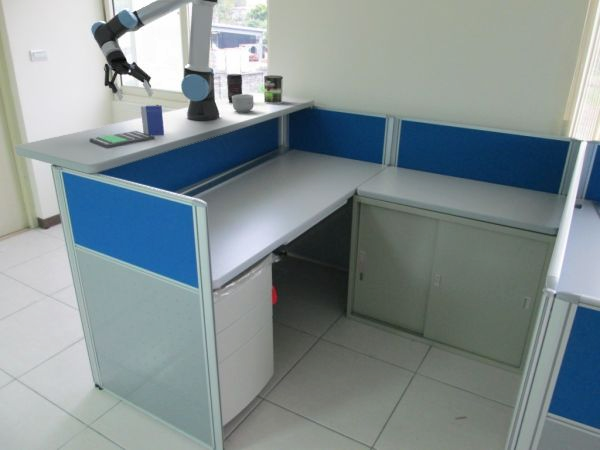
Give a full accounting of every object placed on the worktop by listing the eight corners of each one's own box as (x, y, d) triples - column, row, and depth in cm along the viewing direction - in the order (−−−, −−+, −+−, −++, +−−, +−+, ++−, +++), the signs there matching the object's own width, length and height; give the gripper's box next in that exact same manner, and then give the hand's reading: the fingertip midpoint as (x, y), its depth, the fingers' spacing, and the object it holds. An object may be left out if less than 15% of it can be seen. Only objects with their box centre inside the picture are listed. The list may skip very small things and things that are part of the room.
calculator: (136, 133, 210) (136, 130, 209) (154, 139, 201) (154, 136, 200) (89, 141, 196) (89, 137, 196) (107, 147, 187) (106, 144, 187)
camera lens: (244, 101, 283) (244, 74, 277) (239, 104, 276) (238, 75, 270) (231, 100, 285) (230, 73, 279) (225, 103, 278) (224, 74, 272)
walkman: (164, 133, 210) (161, 104, 205) (163, 135, 207) (160, 105, 202) (144, 133, 209) (141, 104, 204) (143, 135, 206) (140, 105, 202)
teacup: (252, 113, 252) (252, 97, 249) (230, 113, 252) (230, 97, 249) (255, 108, 264) (255, 93, 261) (234, 108, 265) (234, 92, 261)
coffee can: (275, 104, 276) (275, 78, 270) (260, 102, 281) (260, 76, 275) (286, 102, 284) (286, 76, 279) (271, 100, 289) (271, 74, 283)
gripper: (138, 59, 223) (160, 98, 220) (83, 63, 206) (105, 105, 203) (143, 48, 218) (165, 87, 214) (87, 50, 201) (110, 93, 198)
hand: (136, 96), depth 209 cm, fingers open, 13 cm apart
